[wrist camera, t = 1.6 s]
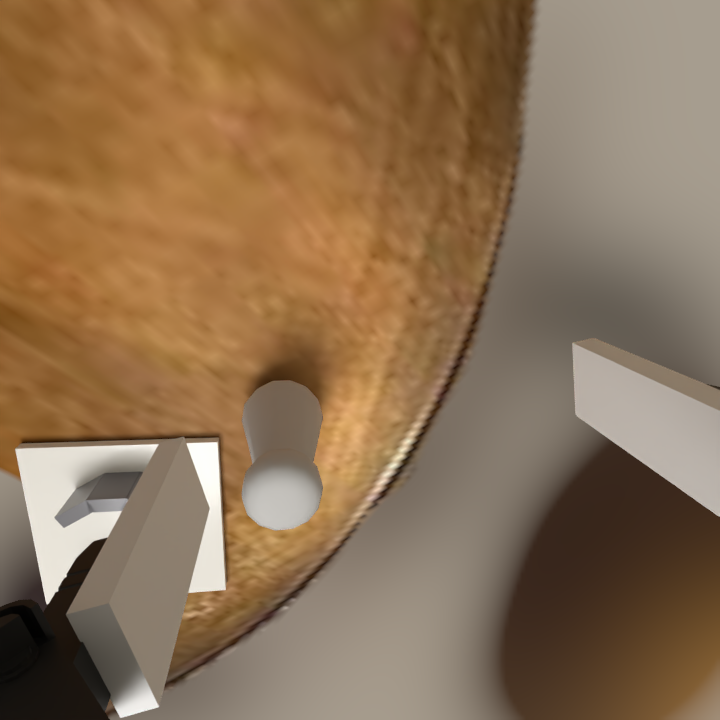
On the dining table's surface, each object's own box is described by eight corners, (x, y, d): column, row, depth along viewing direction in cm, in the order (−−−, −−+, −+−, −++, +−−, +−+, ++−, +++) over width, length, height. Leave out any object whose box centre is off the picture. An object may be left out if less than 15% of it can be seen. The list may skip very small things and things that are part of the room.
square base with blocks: (51, 596, 38) (23, 641, 34) (21, 443, 34) (-15, 474, 30) (226, 582, 41) (220, 623, 37) (218, 437, 36) (210, 465, 32)
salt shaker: (290, 451, 38) (292, 567, 26) (229, 414, 36) (201, 519, 24) (334, 397, 37) (359, 490, 25) (275, 355, 35) (270, 433, 23)
